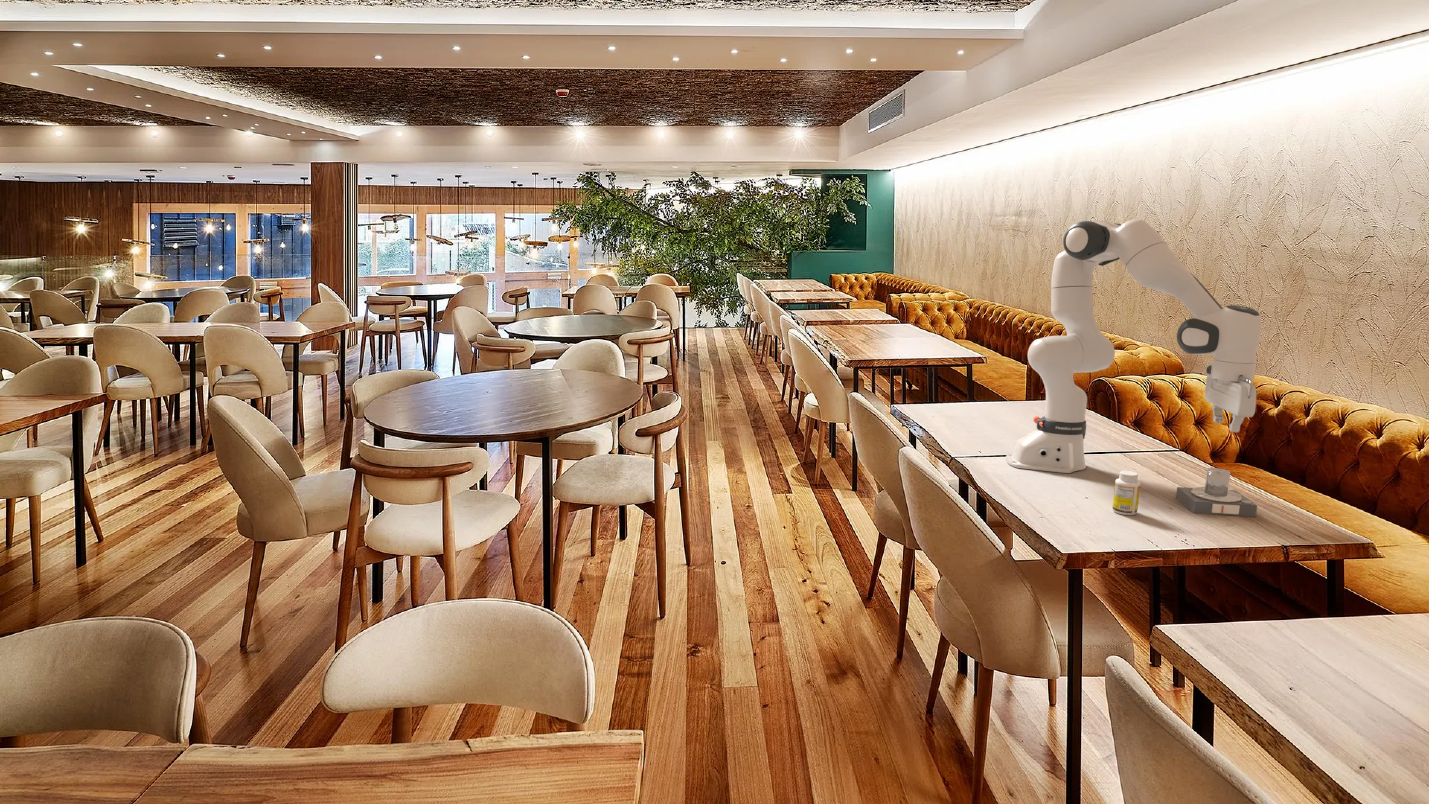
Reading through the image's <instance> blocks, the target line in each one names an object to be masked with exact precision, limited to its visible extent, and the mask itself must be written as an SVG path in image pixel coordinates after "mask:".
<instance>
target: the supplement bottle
mask: <svg viewBox="0 0 1429 804" xmlns="http://www.w3.org/2000/svg"><path fill="white" fill-rule="evenodd" d="M1118 477H1119V478H1116V479H1115V481H1114V482H1115V483H1114V491H1113V492H1114V493H1113V501H1112V510H1113V512H1115V513H1117V514H1118V515H1123V516H1135V515H1136V514H1137V513H1138V507H1139V498H1140V492H1141V491H1140V490H1141V482H1140V481H1139V480H1138V473H1137V472H1135V471H1131V470H1130V471H1129V470H1121V471H1119V476H1118Z"/></svg>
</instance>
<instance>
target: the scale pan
mask: <svg viewBox="0 0 1429 804" xmlns="http://www.w3.org/2000/svg"><path fill="white" fill-rule="evenodd" d="M1192 488H1193V489H1191V494H1192V495H1194V496H1196V497H1198V498H1201V499H1205V500H1209V501H1214V502H1222V503H1236V502H1240V501H1241V500H1242V496H1241V495H1239V494H1237V493H1235V492H1232V491H1229V490H1230V489H1228V493H1227V496H1224V497H1219V496H1212V495H1209V494H1206V493H1205V492H1204V490H1205V486H1197V487H1192Z"/></svg>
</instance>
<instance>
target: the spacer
mask: <svg viewBox="0 0 1429 804" xmlns="http://www.w3.org/2000/svg"><path fill="white" fill-rule="evenodd" d="M1230 479H1231V470H1227V469H1224V468H1217V467H1209V468H1207V470H1206V477H1205V484H1204V487H1205V490H1204V492H1205V493H1206V494H1209V495H1212V496H1219V497H1224V496H1227V493H1228V490H1229V485H1230Z"/></svg>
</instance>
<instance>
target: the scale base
mask: <svg viewBox="0 0 1429 804" xmlns="http://www.w3.org/2000/svg"><path fill="white" fill-rule="evenodd" d="M1193 488H1194V487H1183V486H1181V487H1180V486H1177V488H1176V495H1175V499H1177V500H1178V502H1180V503H1182V505H1183V506H1185V507H1186V508H1187V509H1188V510H1190V511H1191V512H1192V513H1193V514H1206V515H1221V516H1236V517H1253V518H1256V515H1257V510H1258V509H1257V508H1258V505H1257V504H1256V503H1255V502H1254V501H1252V500H1251V499H1248V498H1247V497H1246V496H1245V495H1243V494H1241V493H1240V492H1238V491H1237V490H1235V489H1234V490H1233V489H1228V490H1229V491H1232V492H1235V493H1237V494H1239V495H1241V496H1242V500H1241V501H1240V502H1236V503H1222V502H1214V501H1209V500H1205V499H1201V498H1198V497H1196V496H1194V495H1192V494H1191V489H1193Z"/></svg>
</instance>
